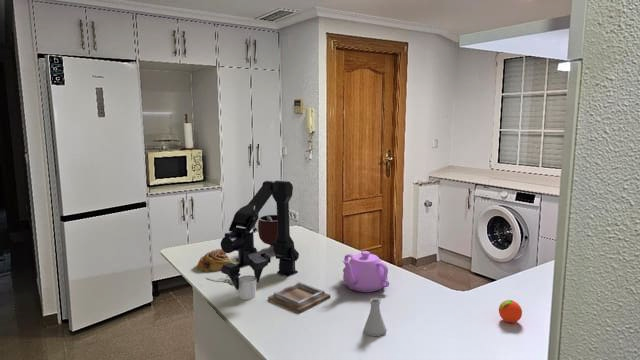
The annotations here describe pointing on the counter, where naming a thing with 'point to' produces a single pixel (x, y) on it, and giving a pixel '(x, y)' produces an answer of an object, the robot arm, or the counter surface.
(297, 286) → the brown square tray
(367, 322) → the flask
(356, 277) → the teapot
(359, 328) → the counter surface
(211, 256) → the pastry
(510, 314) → the clementine
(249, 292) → the shot glass
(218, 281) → the pliers
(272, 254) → the dark red goblet shape
